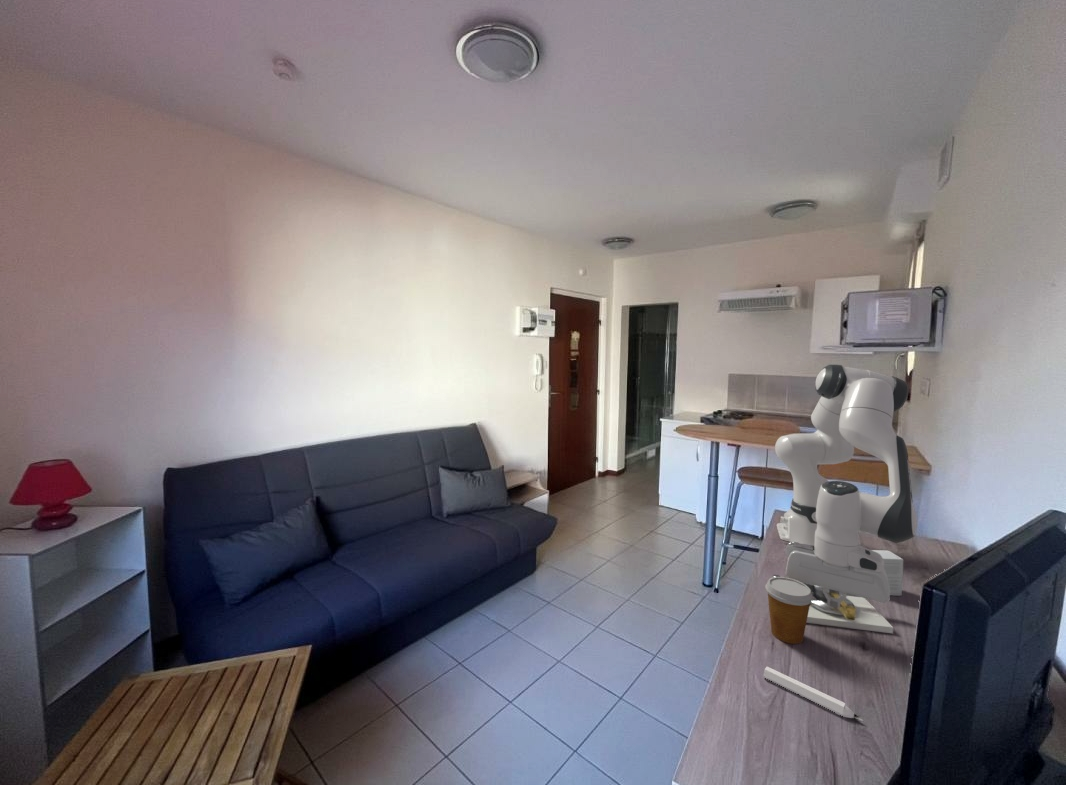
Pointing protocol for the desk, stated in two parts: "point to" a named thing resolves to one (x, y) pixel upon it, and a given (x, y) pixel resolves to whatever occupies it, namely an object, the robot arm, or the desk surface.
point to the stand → (863, 620)
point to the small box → (893, 571)
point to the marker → (809, 693)
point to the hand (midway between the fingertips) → (833, 606)
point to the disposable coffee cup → (788, 608)
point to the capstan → (821, 604)
